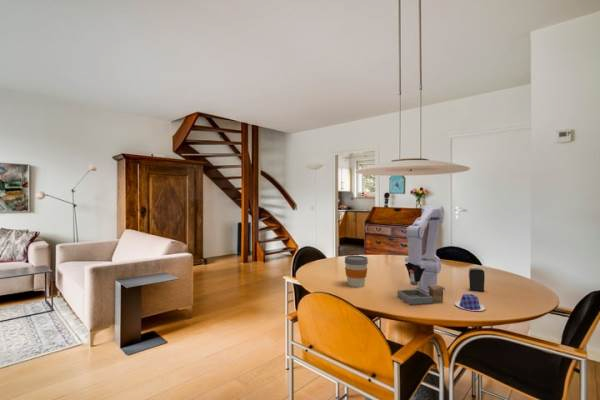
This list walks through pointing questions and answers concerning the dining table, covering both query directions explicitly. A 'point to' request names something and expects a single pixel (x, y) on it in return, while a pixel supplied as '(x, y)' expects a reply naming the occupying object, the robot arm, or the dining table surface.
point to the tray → (415, 297)
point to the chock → (436, 293)
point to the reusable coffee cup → (356, 270)
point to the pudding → (470, 303)
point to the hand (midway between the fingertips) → (414, 280)
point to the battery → (476, 279)
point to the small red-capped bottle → (412, 278)
